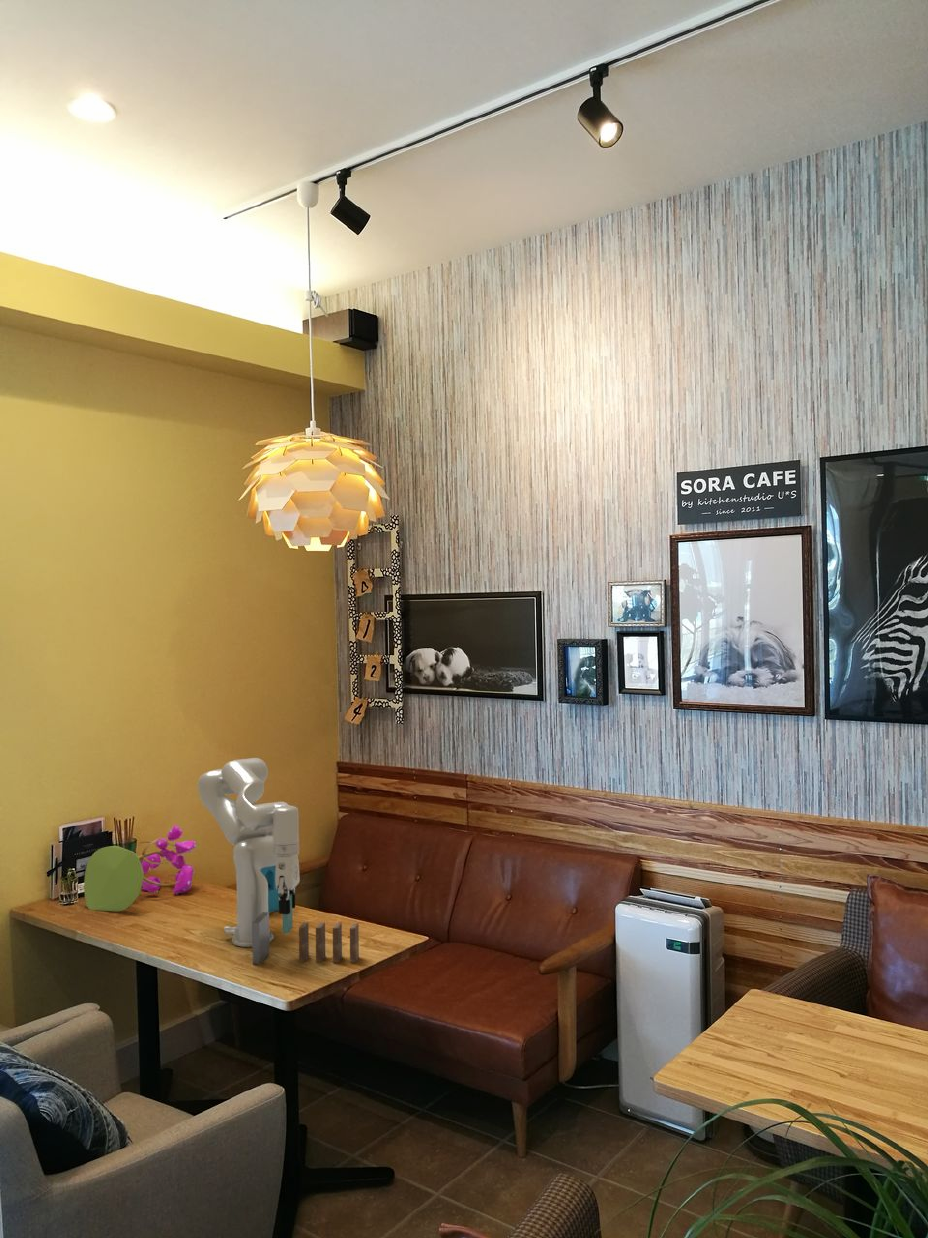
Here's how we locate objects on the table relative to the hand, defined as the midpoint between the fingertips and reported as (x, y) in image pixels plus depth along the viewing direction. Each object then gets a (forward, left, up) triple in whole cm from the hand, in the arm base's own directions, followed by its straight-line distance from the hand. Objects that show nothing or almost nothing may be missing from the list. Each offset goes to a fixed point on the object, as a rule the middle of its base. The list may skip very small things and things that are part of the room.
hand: (287, 910), depth 279 cm
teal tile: (0, 0, -6) cm, 6 cm away
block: (-20, +45, -14) cm, 52 cm away
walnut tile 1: (+20, 0, -14) cm, 24 cm away
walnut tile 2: (+15, 0, -14) cm, 21 cm away
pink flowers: (-69, +60, -15) cm, 93 cm away
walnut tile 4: (+5, 0, -14) cm, 15 cm away
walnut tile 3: (+10, 0, -14) cm, 17 cm away
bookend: (-8, 0, -14) cm, 16 cm away
